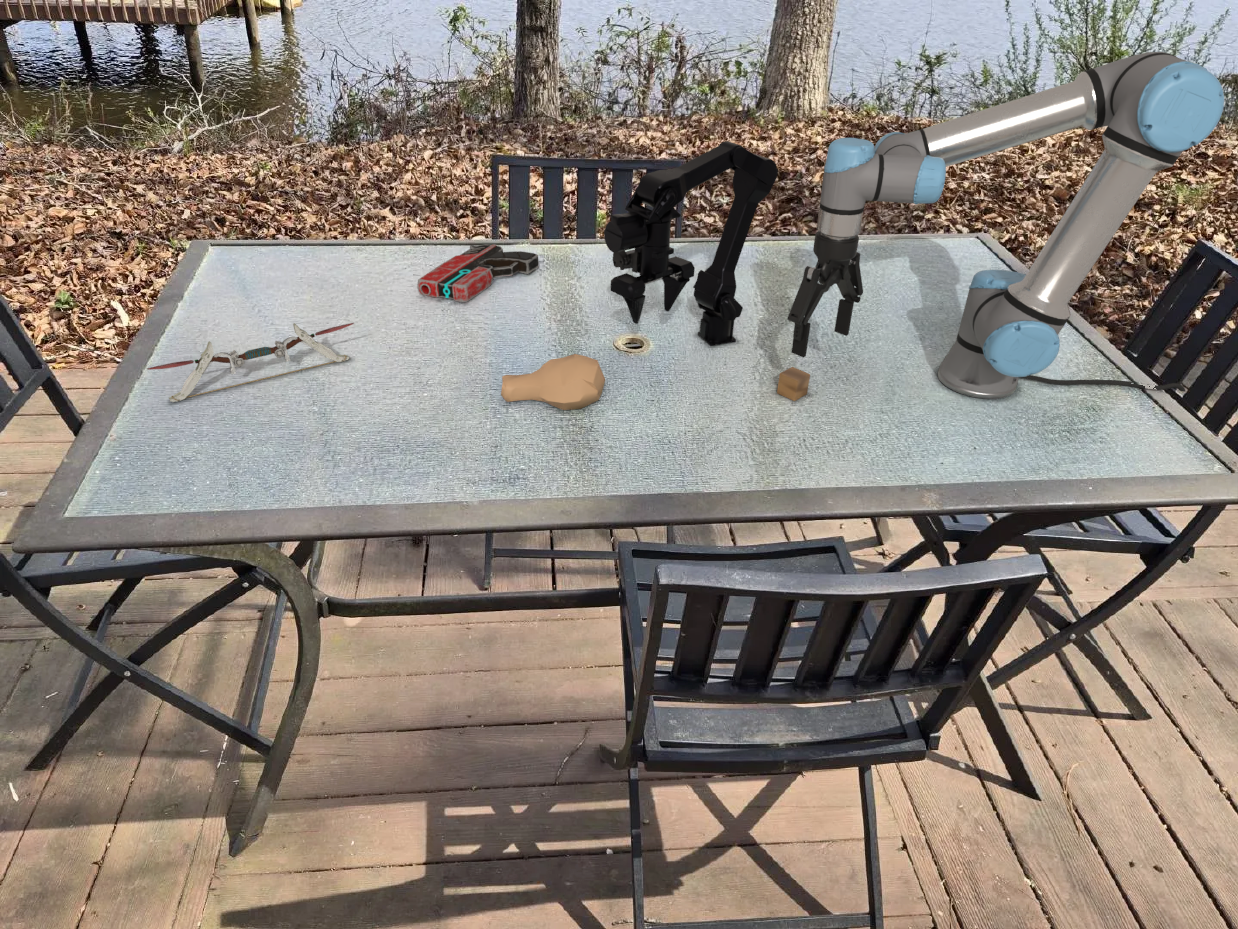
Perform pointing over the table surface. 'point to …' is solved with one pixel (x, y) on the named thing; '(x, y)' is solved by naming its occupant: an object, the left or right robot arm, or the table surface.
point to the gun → (474, 272)
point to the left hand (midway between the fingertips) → (651, 316)
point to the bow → (250, 354)
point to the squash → (558, 383)
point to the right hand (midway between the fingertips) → (820, 343)
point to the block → (793, 383)
